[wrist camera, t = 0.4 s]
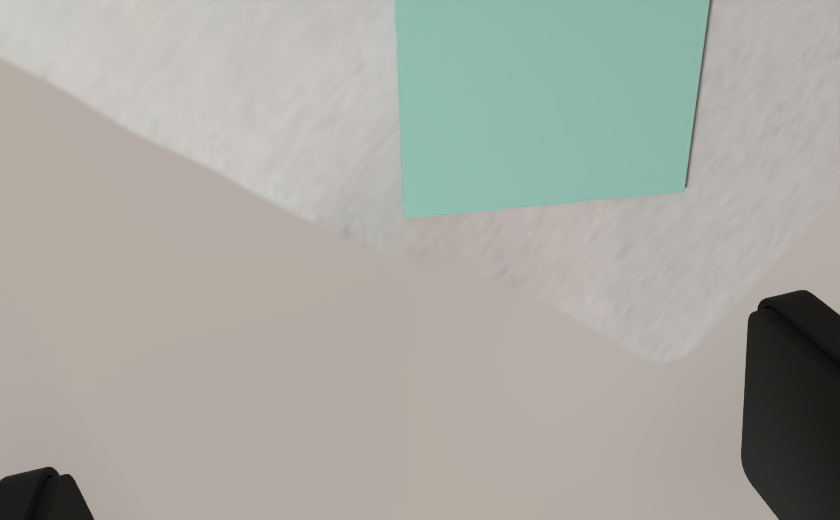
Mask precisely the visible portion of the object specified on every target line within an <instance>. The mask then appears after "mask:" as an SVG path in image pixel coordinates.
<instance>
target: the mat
mask: <svg viewBox="0 0 840 520" xmlns="http://www.w3.org/2000/svg"><path fill="white" fill-rule="evenodd" d="M709 2H710V0H395V9H396V33H397V57H398V82H399V106H400V130H401V154H402V178H403V202H404V217H405V218H414V217H425V216H435V215H446V214H456V213H467V212H478V211H488V210H499V209H509V208H520V207H530V206H541V205H551V204H562V203H573V202H583V201H594V200H604V199H615V198H625V197H636V196H646V195H657V194H668V193H678V192H684V189H685V182H686V174H687V167H688V159H689V152H690V144H691V137H692V129H693V122H694V114H695V107H696V99H697V92H698V85H699V77H700V70H701V62H702V55H703V47H704V40H705V32H706V25H707V17H708V10H709Z"/></svg>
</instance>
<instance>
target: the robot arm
mask: <svg viewBox="0 0 840 520" xmlns="http://www.w3.org/2000/svg"><path fill="white" fill-rule="evenodd" d="M745 370H746V371H745V389H744V409H743V429H742V447H741V461H742V465H743V469H744V472H745V474H746V476H747V478H748V479H749V481H750V483H751V484H752V486H753V487H754V488H755V489H756V491H757V492H758V493H759V495H760V496H761V497H762V498H763V500H764V501H765V502H766V504H767V505H768V506H769V507H770V509H771V510H772V511H773V512H774V514H775V515H776V516H777V518H778V519H779V520H840V315H839V314H837V313H836V312H835V311H834V310H832V309H831V308H830V307H829V306H827V305H826V304H825V303H824V302H822V301H821V300H820V299H818V298H817V297H816V296H815V295H813V294H812V293H810V292H808V291H806V290H799V291H795V292H790V293H786V294H782V295H778V296H774V297H769V298H765V299H763V300H762V301H761V302H760V303H759V305H758V309H757V311H755V312H753V313H751V314H750V316H749V319H748V331H747V350H746V369H745ZM0 520H94V518H93V516H92V514H91V512H90V510H89V508H88V506H87V504H86V502H85V500H84V498H83V496H82V494H81V492H80V490H79V488H78V486H77V484H76V482H75V480H74V479H73V477H72V476H70V475H69V474H64V475H59V474H58V472H57V471H56V470H55V469H54V468H52V467H45V468H41V469H36V470H32V471H28V472H24V473H19V474H15V475H11V476H7V477H5V478H3V479H1V481H0Z"/></svg>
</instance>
